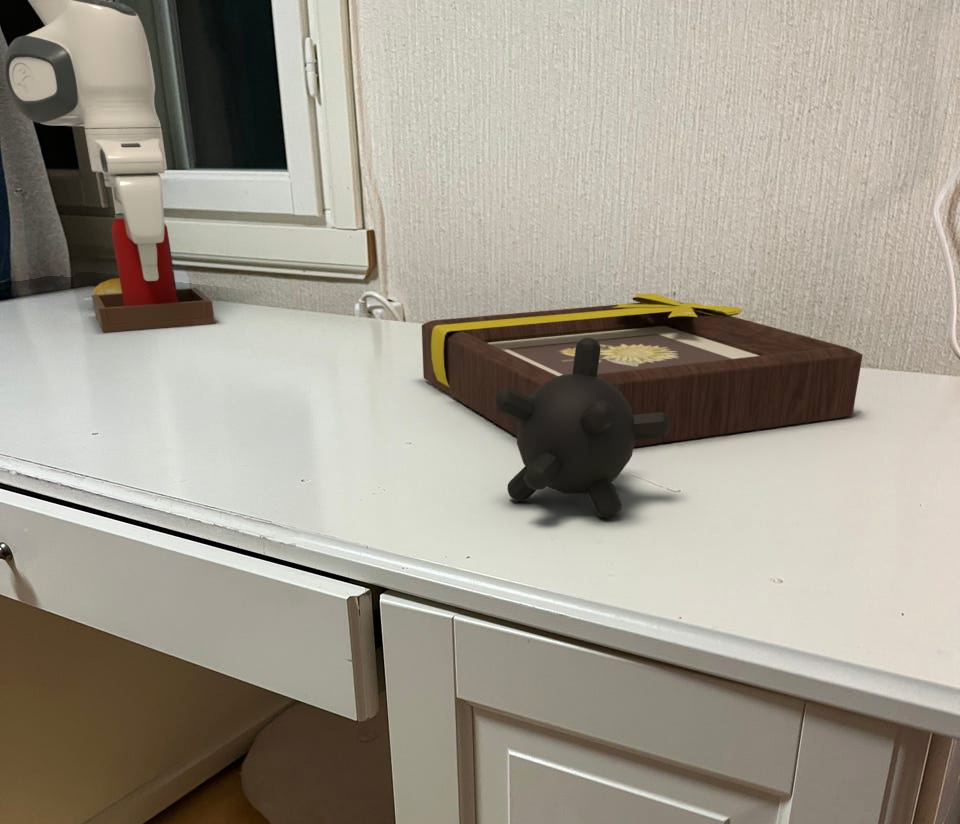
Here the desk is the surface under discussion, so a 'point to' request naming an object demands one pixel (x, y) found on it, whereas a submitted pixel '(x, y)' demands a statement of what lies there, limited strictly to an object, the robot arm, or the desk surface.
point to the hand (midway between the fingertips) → (146, 275)
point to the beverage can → (131, 272)
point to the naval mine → (576, 433)
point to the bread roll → (108, 287)
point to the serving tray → (153, 312)
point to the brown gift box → (650, 364)
